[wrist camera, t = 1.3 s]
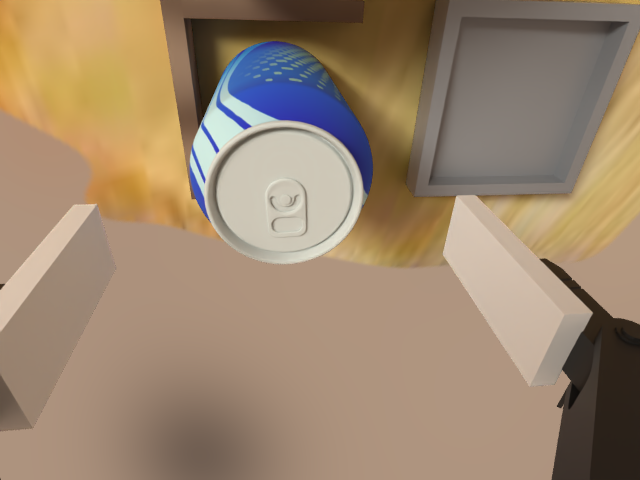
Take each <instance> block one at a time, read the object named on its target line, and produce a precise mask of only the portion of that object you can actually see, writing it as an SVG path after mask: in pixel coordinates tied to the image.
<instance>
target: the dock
mask: <svg viewBox="0 0 640 480" xmlns="http://www.w3.org/2000/svg"><path fill="white" fill-rule="evenodd" d="M160 2H161V8H162V15H163V21H164V27H165V33H166V40H167V46H168V52H169V59H170V65H171V71H172V77H173V84H174V90H175V96H176V102H177V109H178V115H179V121H180V128H181V134H182V140H183V146H184V153H185V159H186V165H187V172H188V178H189V184H190V190H191V197H192V199H196V198H195V195H194V192H193V189H192V185H191V179H190V155H191V149H192V145H193V142H194V139H195V136H196V134H197V132H198V129H199V127H200V125H201V123H202V120H203V113H202V105H201V97H200V89H199V81H198V73H197V65H196V57H195V50H194V42H193V34H192V26H191V18H203V19H239V20H276V21H312V22H349V23H363V13H364V1H363V0H160Z"/></svg>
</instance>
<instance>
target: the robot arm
mask: <svg viewBox="0 0 640 480" xmlns="http://www.w3.org/2000/svg"><path fill="white" fill-rule="evenodd" d="M443 256H444V257H445V259H446V260H447V262H448V263H449V265H450V266H451V268H452V269H453V271H454V272H455V274H456V275H457V277H458V278H459V280H460V281H461V283H462V284H463V286H464V288H465V289H466V290H467V292H468V293H469V295H470V296H471V298H472V300H473V301H474V303H475V304H476V306H477V307H478V309H479V310H480V312H481V313H482V315H483V316H484V318H485V319H486V321H487V323H488V324H489V326H490V327H491V329H492V330H493V332H494V333H495V335H496V336H497V338H498V339H499V341H500V342H501V344H502V345H503V347H504V348H505V350H506V351H507V353H508V354H509V356H510V358H511V359H512V361H513V362H514V364H515V365H516V367H517V368H518V370H519V371H520V373H521V374H522V376H523V377H524V379H525V380H526V382H527V383H528V385H529V386H530V387H531V386H544V385H554V384H555V383H556V381H557V379H558V377H559V375H560V373H561V371H562V370H563V371H564V372H565V374H566V375H567V376H568V378H569V379H570V380H571V382H570V384H569V385H568V387H567V389H566V391H565V393H564V394H563V396H562V398H561V400H560V401H559V403H558V405H557V407H559V408H561V407H562V406H563V404H564V407H563V413H562V419H561V426H560V432H559V438H558V444H557V450H556V456H555V462H554V468H553V474H552V480H640V325H639V324H637V323H635V322H632V321H629V320H625V319H621V318H613V317H612V316H610V314H609V313H608V312H607V311H605V310H604V309H603V308H602V307H601V306H600V305H599V304H598V303H597V302H596V301H595V300H594V299H593V298H592V297H591V296H590V295H589V294H588V293H587V292H586V291H585V290H584V289H581V286H579V285H578V284H577V283H576V282H575V281H574V280H572V278H571V277H570V276H569V275H568V274H567V273H566V272H565V271H564V270H563V269H562V268H560V267H559V266H557V265H556V264H554V263H552V262H550V261H549V260H547V259H539V258H538V257H537V256H536V255H535V254H534V253H533V252H532V251H531V250H530V249H529V248H528V247H527V246H526V245H525V244H524V243H523V242H522V241H521V240H520V239H519V238H518V237H517V236H516V235H515V234H514V233H513V232H512V231H511V230H510V229H509V228H508V227H507V226H506V225H505V224H504V223H503V222H502V221H501V220H500V219H499V218H498V217H497V216H496V215H495V214H494V213H493V212H492V211H491V210H490V209H489V208H488V207H487V206H486V205H485V204H484V203H483V202H482V201H481V200H480V199H479V198H478V197H477V196H476V195H457V196H456V200H455V204H454V209H453V213H452V217H451V221H450V225H449V229H448V234H447V238H446V242H445V246H444V250H443ZM115 270H116V265H115V262H114V259H113V255H112V252H111V249H110V245H109V242H108V239H107V235H106V232H105V229H104V225H103V222H102V219H101V215H100V212H99V209H98V205H97V204H84V205H73V206H72V208H71V209H70V210H69V211H68V212H67V213H66V214H65V216H64V217H63V218H62V219H61V220H60V221H59V222H58V224H57V225H56V226H55V227H54V228H53V230H52V231H51V232H50V233H49V234H48V235H47V237H46V238H45V239H44V240H43V241H42V242H41V243H40V245H39V246H38V247H37V248H36V249H35V250H34V252H33V253H32V254H31V255H30V256H29V257H28V259H27V260H26V261H25V262H24V263H23V264H22V266H21V267H20V268H19V269H18V270H17V272H16V273H15V274H14V275H13V276H12V277H11V278H10V280H9V281H8V282H7V283H6V284H0V431H8V430H20V429H31V428H33V427H34V425H35V424H36V422H37V420H38V418H39V416H40V414H41V412H42V410H43V408H44V406H45V404H46V402H47V400H48V399H49V397H50V394H51V393H52V391H53V389H54V387H55V385H56V383H57V381H58V379H59V377H60V375H61V373H62V372H63V370H64V368H65V366H66V364H67V362H68V360H69V358H70V356H71V354H72V352H73V350H74V348H75V347H76V345H77V343H78V341H79V339H80V337H81V335H82V333H83V331H84V329H85V327H86V325H87V323H88V322H89V319H90V318H91V316H92V314H93V312H94V310H95V308H96V306H97V304H98V302H99V300H100V298H101V297H102V295H103V293H104V291H105V289H106V287H107V285H108V283H109V281H110V279H111V277H112V275H113V273H114V271H115ZM0 480H1V479H0Z"/></svg>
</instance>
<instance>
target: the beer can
mask: <svg viewBox="0 0 640 480" xmlns="http://www.w3.org/2000/svg"><path fill="white" fill-rule="evenodd" d="M372 175H373V162H372V154H371V149H370V145H369V142H368V139H367V137H366V134H365V132H364V130H363V128H362V126H361V124H360V123H359V121H358V120H357V118H356V117H355V115H354V113H353V112H352V110H351V109H350V107H349V106H348V104H347V103H346V101H345V99H344V98H343V96H342V95H341V93H340V92H339V90H338V89H337V87H336V85H335V84H334V82H333V81H332V79H331V78H330V76H329V75H328V73H327V71H326V70H325V68H324V67H323V66H322V64H321V63H320V62H319V61H318V60H317V59H316V58H315V57H314V56H313V55H312V54H310V53H309V52H307V51H306V50H304V49H303V48H300V47H298V46H296V45H293V44H290V43H286V42H279V41H271V42H263V43H259V44H256V45H253V46H251V47H248V48H247V49H245V50H243V51H242V52H240V53H239V54H238V55H237V56H236V57H235V58H234V59H233V60H232V61H231V62H230V63H229V64H228V66H227V67H226V69H225V71H224V72H223V75H222V77H221V79H220V81H219V84H218V86H217V88H216V91H215V93H214V95H213V97H212V100H211V102H210V104H209V107H208V109H207V111H206V113H205V116H204V118H203V120H202V123H201V125H200V127H199V129H198V132H197V134H196V136H195V139H194V142H193V145H192V149H191V155H190V179H191V185H192V189H193V192H194V195H195V198H196V200H197V202H198V204H199V206H200V208H201V210H202V211H203V213H204V214H205V216H206V217H207V218H208V220H209V221H210V222H211V223H212V225H213V227H214V229H215V230H216V232H217V233H218V234H219V236H220V237H221V238H222V239H223V240H224V241H225V242H226V243H227V244H228V245H229V246H231V247H232V248H233V249H235V250H236V251H238V252H239V253H241V254H243V255H245V256H247V257H249V258H252V259H254V260H257V261H261V262H265V263H271V264H296V263H301V262H305V261H309V260H312V259H315V258H317V257H320V256H322V255H324V254H326V253H327V252H329V251H330V250H332V249H333V248H335V247H336V246H337V245H339V244H340V243H341V242H342V241H343V240H344V239H345V238H346V237H347V235H348V234H349V233H350V232H351V230H352V229H353V227H354V225H355V224H356V222H357V219H358V217H359V215H360V212H361V209H362V208H363V206H364V204H365V201H366V199H367V197H368V194H369V191H370V187H371V182H372Z"/></svg>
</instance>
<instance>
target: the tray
mask: <svg viewBox="0 0 640 480" xmlns="http://www.w3.org/2000/svg"><path fill="white" fill-rule="evenodd" d="M639 30H640V4H627V3H603V2H575V1H548V0H436V3H435V9H434V15H433V21H432V27H431V33H430V40H429V46H428V52H427V58H426V64H425V70H424V76H423V82H422V88H421V94H420V100H419V106H418V112H417V118H416V125H415V131H414V137H413V143H412V149H411V155H410V161H409V167H408V173H407V179H406V186H407V187H408V189H409V190H410V192H411V193H412V194H413V196H414V197H431V196H457V195H518V194H561V193H571V192H572V190H573V188H574V185H575V183H576V180H577V178H578V176H579V173H580V171H581V168H582V166H583V164H584V161H585V159H586V156H587V154H588V152H589V149H590V147H591V145H592V142H593V140H594V137H595V135H596V133H597V130H598V128H599V125H600V123H601V121H602V118H603V116H604V113H605V111H606V109H607V106H608V104H609V102H610V99H611V97H612V94H613V92H614V90H615V87H616V85H617V82H618V80H619V78H620V75H621V73H622V70H623V68H624V66H625V63H626V61H627V59H628V56H629V54H630V51H631V49H632V47H633V44H634V42H635V39H636V37H637V35H638V32H639Z"/></svg>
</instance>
